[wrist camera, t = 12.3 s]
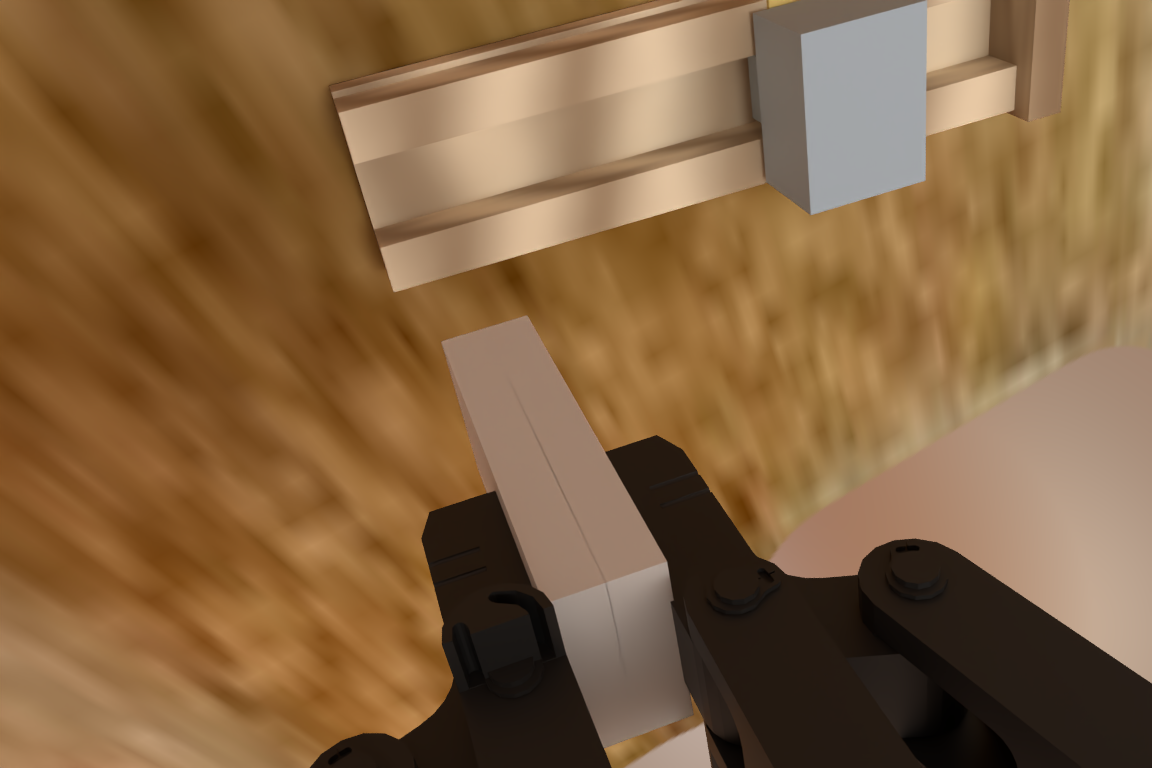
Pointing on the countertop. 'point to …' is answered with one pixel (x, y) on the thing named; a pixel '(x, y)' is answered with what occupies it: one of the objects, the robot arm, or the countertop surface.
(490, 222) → the rail
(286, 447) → the countertop surface
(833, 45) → the rider
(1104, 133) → the countertop surface
